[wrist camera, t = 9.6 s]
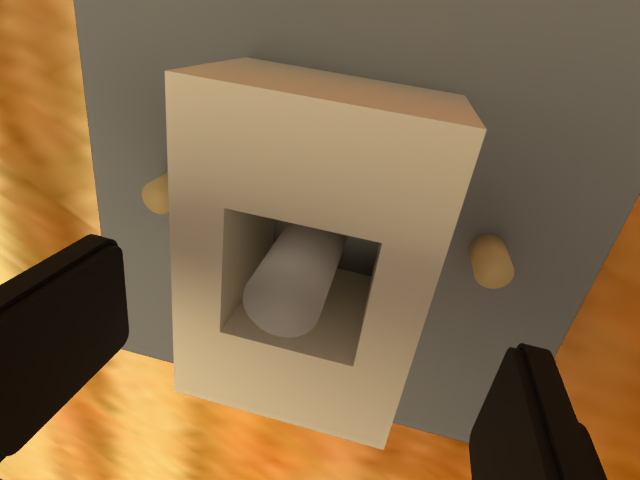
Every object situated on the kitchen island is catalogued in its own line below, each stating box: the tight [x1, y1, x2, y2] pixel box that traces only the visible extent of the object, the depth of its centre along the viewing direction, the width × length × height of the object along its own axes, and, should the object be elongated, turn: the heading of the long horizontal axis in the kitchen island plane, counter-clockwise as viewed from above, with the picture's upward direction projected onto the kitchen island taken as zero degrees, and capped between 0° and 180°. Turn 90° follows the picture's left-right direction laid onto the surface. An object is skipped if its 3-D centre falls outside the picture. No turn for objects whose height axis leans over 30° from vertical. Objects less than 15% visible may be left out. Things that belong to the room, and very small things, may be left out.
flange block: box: [165, 57, 487, 450], centre depth 14 cm, size 10×7×5 cm
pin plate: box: [74, 0, 640, 443], centre depth 14 cm, size 19×19×7 cm
